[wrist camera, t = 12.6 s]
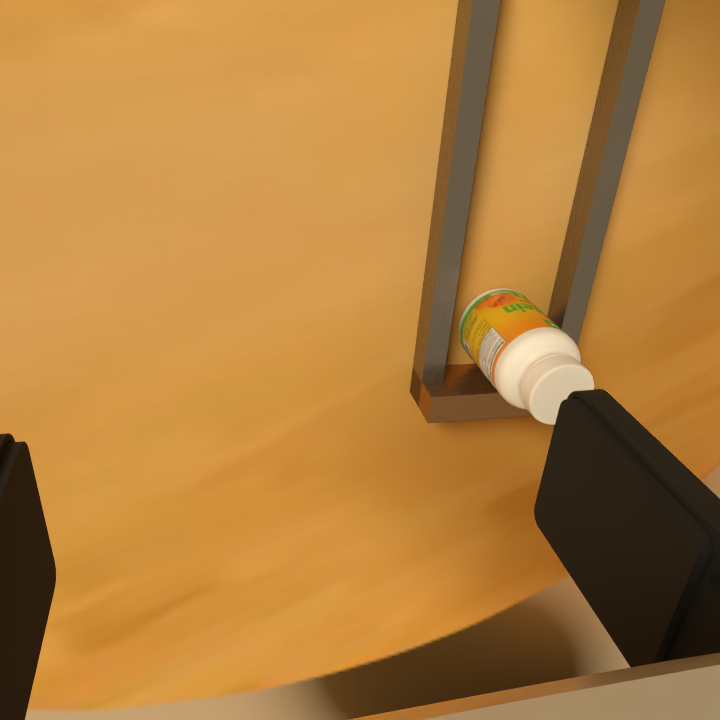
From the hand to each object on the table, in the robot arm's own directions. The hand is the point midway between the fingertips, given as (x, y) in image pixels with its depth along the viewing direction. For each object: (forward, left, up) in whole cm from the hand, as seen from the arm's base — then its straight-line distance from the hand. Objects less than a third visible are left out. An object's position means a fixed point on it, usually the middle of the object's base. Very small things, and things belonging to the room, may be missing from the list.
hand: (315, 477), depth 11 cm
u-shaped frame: (+3, +18, -28) cm, 33 cm away
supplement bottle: (+11, +18, -28) cm, 35 cm away
